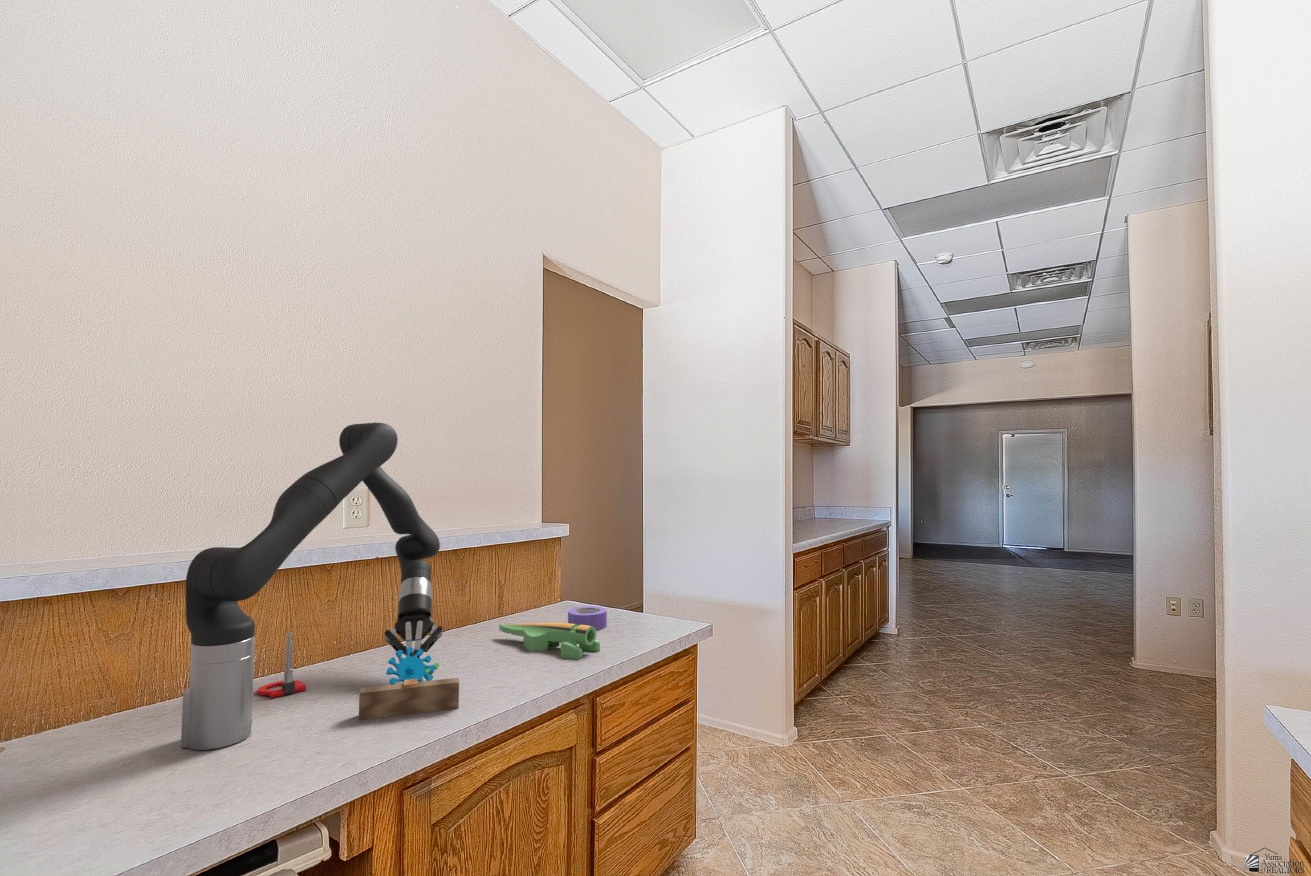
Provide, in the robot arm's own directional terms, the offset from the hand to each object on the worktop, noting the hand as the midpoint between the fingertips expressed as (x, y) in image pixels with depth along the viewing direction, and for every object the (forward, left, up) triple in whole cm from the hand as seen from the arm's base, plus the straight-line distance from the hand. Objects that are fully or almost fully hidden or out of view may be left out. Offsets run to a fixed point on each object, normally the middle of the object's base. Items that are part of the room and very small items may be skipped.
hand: (412, 668), depth 135 cm
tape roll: (+41, +47, -4) cm, 62 cm away
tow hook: (-27, +2, -4) cm, 28 cm away
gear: (0, -2, -3) cm, 4 cm away
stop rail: (+3, -15, -4) cm, 16 cm away
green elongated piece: (+28, +28, -4) cm, 39 cm away
